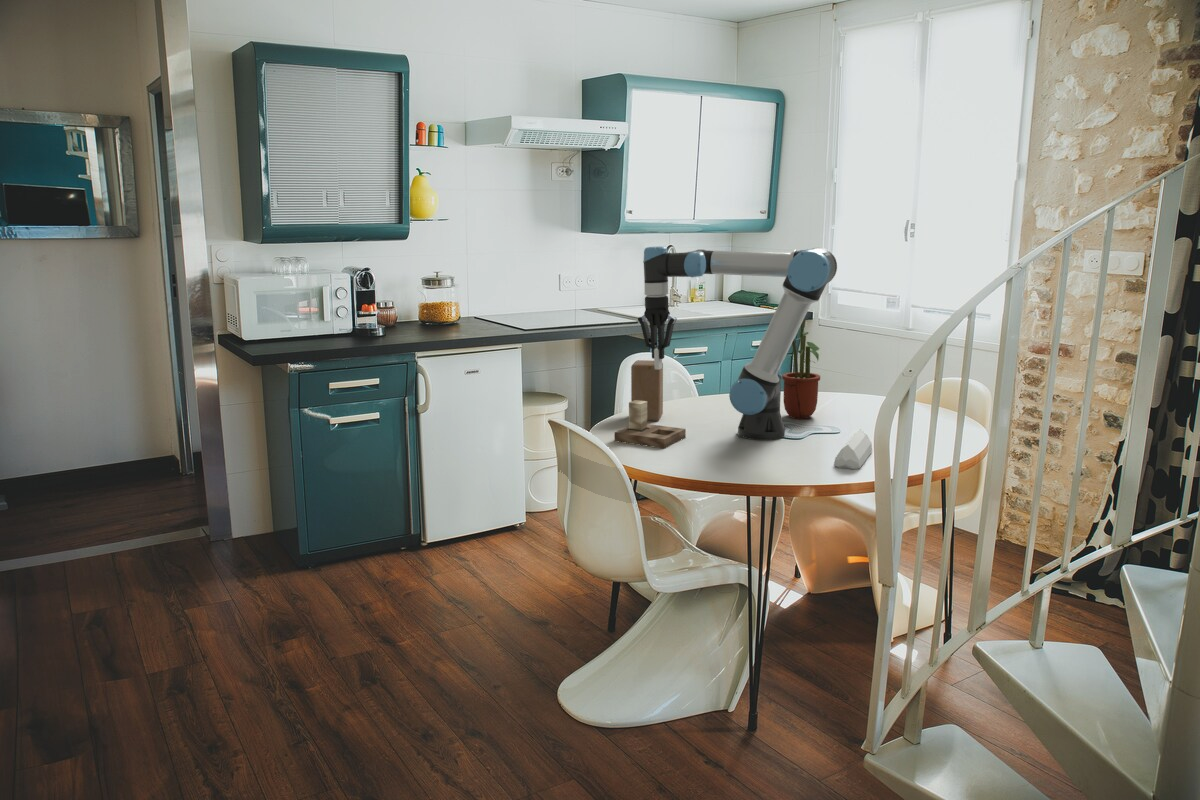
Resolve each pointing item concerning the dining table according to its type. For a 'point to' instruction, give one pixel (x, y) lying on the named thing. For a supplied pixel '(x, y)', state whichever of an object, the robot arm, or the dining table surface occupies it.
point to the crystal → (854, 451)
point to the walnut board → (651, 436)
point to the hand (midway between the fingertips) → (658, 368)
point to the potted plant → (801, 382)
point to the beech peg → (638, 415)
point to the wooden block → (648, 387)
